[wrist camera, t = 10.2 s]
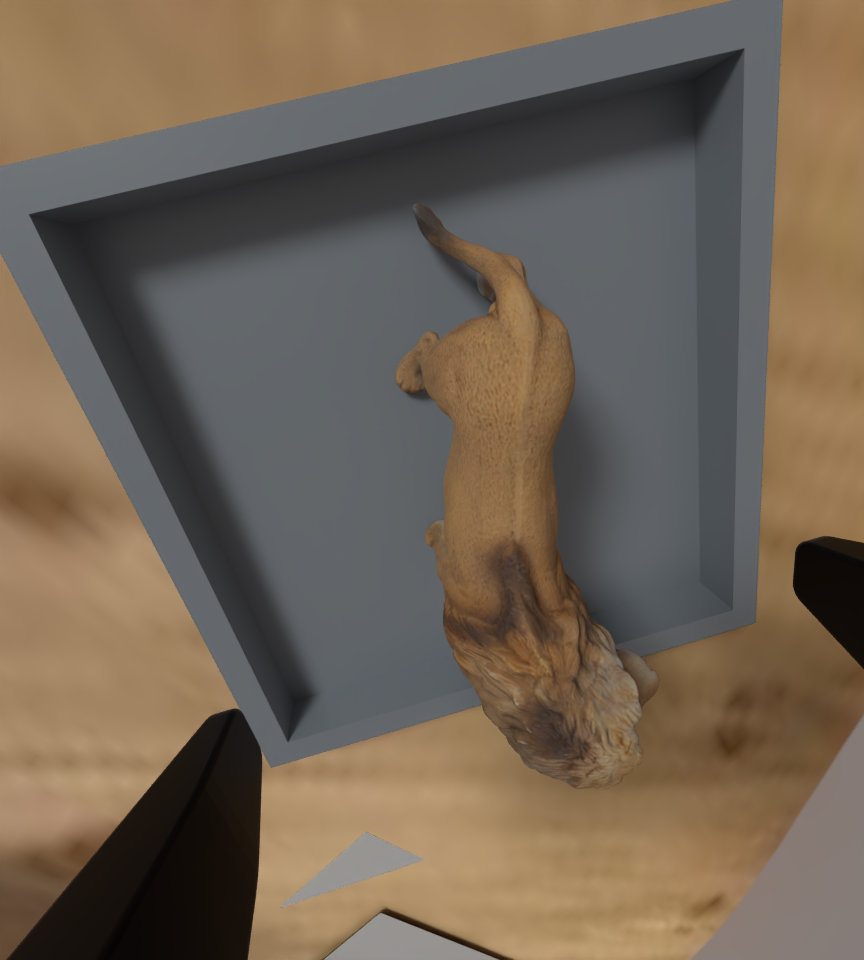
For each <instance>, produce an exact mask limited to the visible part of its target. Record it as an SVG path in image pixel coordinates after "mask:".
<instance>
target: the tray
mask: <svg viewBox="0 0 864 960" xmlns="http://www.w3.org/2000/svg"><path fill="white" fill-rule="evenodd" d="M782 11H783V0H733V1H729V2H724V3H720V4H715V5H711V6H707V7H702V8H698V9H693V10H689V11H684V12H680V13H676V14H671V15H667V16H662V17H658V18H654V19H649V20H645V21H640V22H636V23H631V24H627V25H623V26H618V27H614V28H609V29H605V30H600V31H596V32H592V33H587V34H583V35H578V36H574V37H570V38H565V39H561V40H556V41H552V42H547V43H543V44H539V45H534V46H530V47H525V48H521V49H516V50H512V51H508V52H503V53H499V54H494V55H490V56H486V57H481V58H477V59H472V60H468V61H463V62H459V63H455V64H450V65H446V66H441V67H437V68H433V69H428V70H424V71H419V72H415V73H410V74H406V75H402V76H397V77H393V78H388V79H384V80H379V81H375V82H371V83H366V84H362V85H357V86H353V87H349V88H344V89H340V90H335V91H331V92H326V93H322V94H318V95H313V96H309V97H304V98H300V99H295V100H291V101H287V102H282V103H278V104H273V105H269V106H265V107H260V108H256V109H251V110H247V111H242V112H238V113H234V114H229V115H225V116H220V117H216V118H211V119H207V120H203V121H198V122H194V123H189V124H185V125H181V126H176V127H172V128H167V129H163V130H158V131H154V132H150V133H145V134H141V135H136V136H132V137H127V138H123V139H119V140H114V141H110V142H105V143H101V144H97V145H92V146H88V147H83V148H79V149H74V150H70V151H66V152H61V153H57V154H52V155H48V156H43V157H39V158H35V159H30V160H26V161H21V162H17V163H13V164H8V165H4V166H0V253H1V255H2V257H3V259H4V261H5V262H6V264H7V266H8V268H9V270H10V272H11V274H12V276H13V278H14V280H15V282H16V283H17V285H18V287H19V289H20V291H21V293H22V295H23V297H24V299H25V301H26V302H27V304H28V306H29V308H30V310H31V312H32V314H33V316H34V318H35V320H36V321H37V323H38V325H39V327H40V329H41V331H42V333H43V335H44V337H45V339H46V341H47V342H48V344H49V346H50V348H51V350H52V352H53V354H54V356H55V358H56V360H57V361H58V363H59V365H60V367H61V369H62V371H63V373H64V375H65V377H66V379H67V381H68V382H69V384H70V386H71V388H72V390H73V392H74V394H75V396H76V398H77V400H78V401H79V403H80V405H81V407H82V409H83V411H84V413H85V415H86V417H87V419H88V420H89V422H90V424H91V426H92V428H93V430H94V432H95V434H96V436H97V438H98V440H99V441H100V443H101V445H102V447H103V449H104V451H105V453H106V455H107V457H108V459H109V460H110V462H111V464H112V466H113V468H114V470H115V472H116V474H117V476H118V478H119V480H120V481H121V483H122V485H123V487H124V489H125V491H126V493H127V495H128V497H129V499H130V500H131V502H132V504H133V506H134V508H135V510H136V512H137V514H138V516H139V518H140V520H141V521H142V523H143V525H144V527H145V529H146V531H147V533H148V535H149V537H150V539H151V540H152V542H153V544H154V546H155V548H156V550H157V552H158V554H159V556H160V558H161V559H162V561H163V563H164V565H165V567H166V569H167V571H168V573H169V575H170V577H171V579H172V580H173V582H174V584H175V586H176V588H177V590H178V592H179V594H180V596H181V598H182V599H183V601H184V603H185V605H186V607H187V609H188V611H189V613H190V615H191V617H192V619H193V620H194V622H195V624H196V626H197V628H198V630H199V632H200V634H201V636H202V638H203V639H204V641H205V643H206V645H207V647H208V649H209V651H210V653H211V655H212V657H213V658H214V660H215V662H216V664H217V666H218V668H219V670H220V672H221V674H222V676H223V678H224V679H225V681H226V683H227V685H228V687H229V689H230V691H231V693H232V695H233V697H234V698H235V700H236V702H237V704H238V706H239V708H240V710H241V711H242V713H243V714H244V716H245V718H246V720H247V722H248V724H249V726H250V728H251V729H252V731H253V733H254V735H255V737H256V739H257V741H258V743H259V745H260V748H261V750H262V752H263V754H264V756H265V757H266V759H267V761H268V763H269V765H270V767H271V768H272V767H276V766H279V765H282V764H286V763H289V762H292V761H296V760H299V759H302V758H306V757H309V756H313V755H316V754H319V753H323V752H326V751H329V750H333V749H336V748H339V747H343V746H346V745H349V744H353V743H356V742H359V741H363V740H366V739H369V738H373V737H376V736H379V735H383V734H386V733H389V732H393V731H396V730H399V729H403V728H406V727H409V726H413V725H416V724H419V723H423V722H426V721H429V720H433V719H436V718H439V717H443V716H446V715H449V714H453V713H456V712H459V711H463V710H466V709H469V708H473V707H476V706H479V705H482V702H481V701H480V699H479V696H478V695H477V693H476V691H475V689H474V687H473V686H472V684H471V683H470V681H469V680H468V679H467V678H466V677H465V675H464V674H463V673H462V671H461V670H460V668H459V666H458V664H457V662H456V660H455V659H454V656H453V649H452V648H451V647H450V645H449V643H448V641H447V638H446V635H445V631H444V627H443V609H444V602H445V594H444V589H443V583H442V582H441V580H440V578H439V576H438V574H437V568H436V563H437V562H436V556H435V549H433V548H432V547H431V546H429V545H427V543H426V541H425V534H426V531H427V529H428V528H429V527H430V526H431V525H432V524H433V523H434V522H436V521H438V520H444V512H445V509H444V496H443V480H444V473H445V469H446V464H447V460H448V456H449V452H450V448H451V444H452V439H453V430H454V426H453V422H452V420H451V419H450V418H449V416H447V415H446V414H445V413H444V412H442V411H441V410H440V409H439V407H438V405H437V403H436V402H435V401H434V400H433V399H432V398H431V397H430V396H429V394H428V392H427V390H426V391H424V392H419V393H414V394H412V393H406V392H403V391H402V390H401V389H400V387H399V386H398V385H397V384H396V381H395V374H396V369H397V367H398V365H399V363H400V361H401V360H402V358H403V357H404V356H405V355H406V354H407V353H408V352H409V351H411V350H412V349H413V348H414V347H415V346H416V344H417V343H418V342H419V340H420V339H421V337H422V336H423V335H424V334H425V333H426V332H428V331H434V332H436V333H437V334H438V336H439V338H440V339H441V338H443V337H444V336H445V335H446V334H447V333H448V332H450V331H451V330H452V329H454V328H455V327H456V326H458V325H459V324H461V323H463V322H465V321H468V320H470V319H473V318H477V317H481V316H487V315H488V312H489V309H490V306H491V305H492V304H493V303H494V302H495V301H491V300H490V299H488V298H486V297H484V296H482V295H481V293H480V292H479V290H478V285H477V272H476V271H475V270H473V269H472V268H470V267H469V266H468V265H466V264H465V263H463V262H461V261H459V260H458V259H456V258H454V257H452V256H450V255H448V254H445V253H443V252H442V251H441V250H440V249H439V248H437V247H435V246H434V245H432V244H431V243H430V242H428V241H427V240H426V238H425V237H424V236H423V234H422V233H421V231H420V229H419V227H418V224H417V220H416V218H415V216H414V213H413V210H412V208H413V206H414V205H415V204H418V203H423V204H425V205H427V206H428V207H429V208H430V209H431V210H432V211H433V213H434V214H435V216H436V217H437V218H438V219H439V220H441V222H442V225H443V227H444V228H445V229H446V230H447V231H448V232H450V233H452V234H454V235H455V236H457V237H459V238H461V239H462V240H464V241H467V242H469V243H472V244H476V245H480V246H483V247H486V248H487V249H489V250H491V251H493V252H501V253H506V254H508V255H512V256H515V257H517V258H519V259H520V260H521V261H522V263H523V265H524V267H525V269H526V277H527V283H528V287H529V288H530V290H531V291H532V293H533V294H534V296H535V297H536V299H537V300H538V301H539V302H540V303H541V304H542V305H543V307H545V308H546V309H548V310H550V311H552V312H553V313H554V314H556V315H557V316H558V317H559V318H560V319H561V320H562V322H563V324H564V325H565V327H566V328H567V331H568V334H569V337H570V341H571V348H572V354H573V360H574V366H575V388H574V393H573V396H572V399H571V402H570V405H569V407H568V410H567V413H566V416H565V418H564V421H563V423H562V425H561V428H560V430H559V432H558V435H557V438H556V441H555V444H554V448H553V455H552V465H553V472H554V479H555V485H556V492H557V503H558V535H557V549H558V550H559V552H560V555H561V557H562V561H563V566H564V571H565V573H566V574H567V575H568V576H569V577H570V578H571V579H572V580H573V581H574V583H575V584H576V586H577V587H578V589H579V590H580V593H581V595H582V596H583V598H584V599H585V601H586V603H587V605H588V608H589V613H590V615H591V618H592V619H593V620H594V621H595V622H597V623H599V624H600V625H602V626H603V627H605V628H606V629H607V630H608V631H609V632H610V634H611V637H612V639H613V641H614V644H615V648H616V649H617V650H622V649H625V650H629V651H631V652H634V653H636V654H637V655H639V656H640V657H643V656H646V655H650V654H653V653H656V652H660V651H663V650H666V649H670V648H673V647H677V646H680V645H683V644H687V643H690V642H693V641H697V640H700V639H703V638H707V637H710V636H713V635H717V634H720V633H723V632H727V631H730V630H733V629H737V628H740V627H743V626H747V625H750V624H753V623H756V601H757V578H758V556H759V533H760V510H761V488H762V465H763V442H764V420H765V397H766V374H767V351H768V329H769V306H770V283H771V261H772V238H773V215H774V193H775V170H776V147H777V125H778V102H779V79H780V56H781V34H782Z"/></svg>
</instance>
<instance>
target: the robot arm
mask: <svg viewBox="0 0 864 960" xmlns="http://www.w3.org/2000/svg"><path fill="white" fill-rule="evenodd" d="M793 588H794V591H795V594H796V596H797V597H798V599H799V600H800V601H801V602H802V603H803V605H804V606H805V607H806V608H807V609H808V610H809V611H810V612H811V613H812V614H813V615H814V616H815V617H816V618H817V620H818V621H819V622H820V623H821V624H822V625H823V626H824V627H825V628H826V629H827V630H828V631H829V632H830V633H831V635H832V636H833V637H834V638H835V639H836V640H837V641H838V642H839V643H840V644H841V645H842V646H843V647H844V648H845V650H846V651H847V652H848V653H849V654H850V655H851V656H852V657H853V658H854V659H855V660H856V661H857V662H858V664H859V665H860V666H861V667H862V668H863V669H864V543H861V542H856V541H851V540H846V539H841V538H835V537H830V536H822V537H818V538H815V539H811V540H808V541H804V542H802V543H800V544H799V545H798V547H797V548H796V552H795V563H794V575H793ZM261 785H262V753H261V749H260V745H259V743H258V741H257V739H256V737H255V735H254V733H253V731H252V729H251V728H250V726H249V724H248V722H247V720H246V718H245V716H244V714H243V713H242V711H240V710H239V709H230V710H227V711H224V712H220V713H217V714H214V715H212V716H210V717H209V718H208V719H207V720H206V721H205V722H204V723H203V724H202V725H201V727H200V728H199V729H198V730H197V731H196V733H195V734H194V735H193V736H192V737H191V739H190V740H189V741H188V742H187V743H186V745H185V746H184V747H183V748H182V749H181V751H180V752H179V753H178V754H177V755H176V757H175V758H174V759H173V760H172V761H171V763H170V764H169V765H168V766H167V767H166V769H165V770H164V771H163V772H162V773H161V775H160V776H159V777H158V778H157V779H156V781H155V782H154V783H153V784H152V785H151V787H150V788H149V789H148V790H147V792H146V793H145V794H144V795H143V796H142V798H141V799H140V800H139V801H138V802H137V804H136V805H135V806H134V807H133V808H132V810H131V811H130V812H129V813H128V814H127V816H126V817H125V818H124V819H123V820H122V822H121V823H120V824H119V825H118V826H117V828H116V829H115V830H114V831H113V832H112V834H111V835H110V836H109V837H108V838H107V840H106V841H105V842H104V843H103V844H102V846H101V847H100V848H99V849H98V850H97V852H96V853H95V854H94V855H93V856H92V858H91V859H90V860H89V861H88V862H87V864H86V865H85V866H84V867H83V868H82V870H81V871H80V872H79V873H78V874H77V876H76V877H75V878H74V879H73V880H72V882H71V883H70V884H69V885H68V886H67V888H66V889H65V890H64V891H63V892H62V894H61V895H60V896H59V897H58V898H57V900H56V901H55V902H54V903H53V904H52V906H51V907H50V908H49V909H48V910H47V912H46V913H45V914H44V915H43V916H42V918H41V919H40V920H39V921H38V922H37V924H36V925H35V926H34V927H33V929H32V930H31V931H30V932H29V933H28V935H27V936H26V937H25V938H24V939H23V941H22V942H21V943H20V944H19V945H18V947H17V948H16V949H15V950H14V951H13V953H12V954H11V955H10V956H9V957H8V959H7V960H248V953H249V945H250V937H251V930H252V922H253V914H254V907H255V899H256V890H257V881H258V869H259V848H260V817H261Z"/></svg>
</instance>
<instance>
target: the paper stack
mask: <svg viewBox="0 0 864 960" xmlns="http://www.w3.org/2000/svg"><path fill="white" fill-rule="evenodd" d="M423 860H424V859H422V858H420V857H418V856H416V855H414V854H412V853H409V852H407V851H405V850H403V849H401V848H399V847H397V846H395V845H393V844H390V843H388V842H386V841H384V840H382V839H380V838H378V837H376V836H374V835H371V834H369V833H367V832H365V833H364V834H363V835H362V836H361V837H359V838H358V839H357V840H356V841H355V842H354V843H353V844H351V845H350V846H349V847H348V848H347V849H346V850H345V851H343V852H342V853H341V854H340V855H339V856H338V857H337V858H335V859H334V860H333V861H332V862H331V863H330V864H329V865H328V866H326V867H325V868H324V869H323V870H322V871H321V872H320V873H318V874H317V875H316V876H315V877H314V878H313V879H312V880H310V881H309V882H308V883H307V884H306V885H305V886H304V887H302V888H301V889H300V890H299V891H298V892H297V893H296V894H294V895H293V896H292V897H291V898H290V899H289V900H288V901H286V902H285V903H284V904H283V905H282V906H281V907H284V906H287V905H290V904H293V903H296V902H299V901H302V900H305V899H308V898H311V897H314V896H317V895H320V894H323V893H326V892H329V891H332V890H335V889H338V888H341V887H344V886H347V885H350V884H354V883H356V882H359V881H363V880H366V879H368V878H372V877H375V876H378V875H380V874H384V873H387V872H390V871H393V870H396V869H399V868H402V867H405V866H408V865H411V864H414V863H417V862H420V861H423ZM281 907H280V908H281ZM324 960H499V959H496V958H494V957H491V956H489V955H486V954H484V953H481V952H479V951H476V950H474V949H471V948H469V947H466V946H464V945H461V944H459V943H456V942H454V941H451V940H448V939H446V938H443V937H441V936H438V935H436V934H433V933H431V932H428V931H426V930H423V929H421V928H418V927H416V926H413V925H411V924H408V923H406V922H403V921H400V920H398V919H395V918H393V917H390V916H388V915H385V914H383V913H380V914H378V915H377V916H376V917H375V918H373V919H372V920H371V921H370V922H369V923H367V924H366V925H365V926H364V927H363V928H361V929H360V930H359V931H358V932H357V933H355V934H354V935H353V936H352V937H350V938H349V939H348V940H347V941H346V942H344V943H343V944H342V945H341V946H340V947H338V948H337V949H336V950H335V951H334V952H332V953H331V954H330V955H329V956H327V957H326V958H325V959H324Z"/></svg>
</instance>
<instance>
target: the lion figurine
mask: <svg viewBox="0 0 864 960" xmlns="http://www.w3.org/2000/svg"><path fill="white" fill-rule="evenodd" d="M412 210H413V213H414V216H415V218H416V220H417V224H418V227H419V229H420V231H421V233H422V234H423V236H424V237H425V238H426V240H427V241H428V242H430V243H431V244H432V245H434V246H435V247H437V248H439V249H440V250H441V251H442V252H443V253H445V254H448V255H450V256H452V257H454V258H456V259H458V260H459V261H461V262H463V263H465V264H466V265H468V266H469V267H470V268H472V269H473V270H475V271H476V272H477V285H478V290H479V292H480V293H481V295H482V296H484V297H486V298H488V299H490V300H491V301H495V302H494V303H493V304H492V305H491V306H490V309H489V312H488V315H487V316H481V317H477V318H473V319H470V320H468V321H465V322H463V323H461V324H459V325H458V326H456V327H455V328H454V329H452V330H451V331H450V332H448V333H447V334H446V335H445V336H444V337H443V338H441V339H440V338H439V336H438V334H437V333H436V332H434V331H428V332H426V333H425V334H424V335H423V336H422V337H421V339H420V340H419V342H418V343H417V344H416V346H415V347H414V348H413V349H412V350H411V351H409V352H408V353H407V354H406V355H405V356H404V357H403V358H402V360H401V361H400V363H399V365H398V367H397V369H396V374H395V381H396V384H397V385H398V386H399V387H400V389H401V390H402V391H403V392H406V393H412V394H414V393H419V392H424V391H426V390H427V392H428V394H429V396H430V397H431V398H432V399H433V400H434V401H435V402H436V403H437V405H438V407H439V409H440V410H441V411H442V412H444V413H445V414H446V415H447V416H449V418H450V419H451V420H452V422H453V426H454V430H453V439H452V444H451V448H450V452H449V456H448V460H447V464H446V469H445V473H444V480H443V496H444V509H445V512H444V520H438V521H436V522H434V523H433V524H432V525H431V526H430V527H429V528H428V529H427V531H426V534H425V541H426V543H427V545H429V546H431V547H432V548H433V549H435V556H436V562H437V563H436V568H437V574H438V576H439V578H440V580H441V582H442V583H443V589H444V594H445V602H444V609H443V627H444V631H445V635H446V638H447V641H448V643H449V645H450V647H451V648H452V649H453V656H454V659H455V660H456V662H457V664H458V666H459V668H460V670H461V671H462V673H463V674H464V675H465V677H466V678H467V679H468V680H469V681H470V683H471V684H472V686H473V687H474V689H475V691H476V693H477V695H478V696H479V699H480V701H481V702H482V707H483V711H484V713H485V715H486V716H487V717H488V718H489V719H490V720H491V721H492V722H493V723H494V724H495V725H496V726H498V728H499V730H500V731H501V732H502V733H503V734H504V735H505V736H506V738H507V740H508V742H509V744H510V745H511V747H512V748H513V749H514V750H515V751H516V752H517V753H519V754H520V756H521V759H522V761H523V762H524V764H526V765H527V766H528V767H529V768H532V769H536V770H537V771H538V772H540V773H541V774H544V775H547V776H549V777H552V778H555V779H560V780H563V781H565V782H567V783H568V784H569V785H570V786H572V787H574V788H576V789H582V788H596V789H600V788H601V789H608V788H609V787H610V786H613V785H616V784H619V783H620V782H621V781H622V778H623V776H624V775H626V774H628V773H630V772H631V771H632V770H633V769H634V767H635V766H637V765H638V764H640V763H641V761H642V756H643V751H642V748H641V746H640V744H639V743H638V741H639V736H638V734H637V732H636V730H635V728H634V727H635V725H636V724H637V723H638V721H639V720H640V719H641V713H642V710H641V708H642V706H643V705H644V704H645V703H646V702H647V701H648V700H649V699H650V698H651V697H652V696H653V695H654V694H655V692H656V690H657V688H658V685H659V678H658V675H657V674H656V672H655V671H653V670H651V669H650V668H649V667H648V665H647V664H646V662H645V661H644V660H643V659H642V658H641V657H640V656H639V655H637V654H636V653H634V652H631V651H629V650H625V649H622V650H617V649H616V648H615V644H614V641H613V639H612V637H611V634H610V632H609V631H608V630H607V629H606V628H605V627H603V626H602V625H600V624H599V623H597V622H595V621H594V620H593V619H592V618H591V615H590V613H589V608H588V605H587V603H586V601H585V599H584V598H583V596H582V595H581V593H580V590H579V589H578V587H577V586H576V584H575V583H574V581H573V580H572V579H571V578H570V577H569V576H568V575H567V574H566V573H565V571H564V566H563V561H562V557H561V555H560V552H559V550H558V549H557V535H558V503H557V492H556V485H555V479H554V472H553V465H552V455H553V448H554V444H555V441H556V438H557V435H558V432H559V430H560V428H561V425H562V423H563V421H564V418H565V416H566V413H567V410H568V407H569V405H570V402H571V399H572V396H573V393H574V388H575V366H574V360H573V354H572V348H571V341H570V337H569V334H568V331H567V328H566V327H565V325H564V324H563V322H562V320H561V319H560V318H559V317H558V316H557V315H556V314H554V313H553V312H552V311H550V310H548V309H546V308H545V307H543V305H542V304H541V303H540V302H539V301H538V300H537V299H536V297H535V296H534V294H533V293H532V291H531V290H530V288H529V287H528V283H527V277H526V269H525V267H524V265H523V263H522V261H521V260H520V259H519V258H517V257H515V256H512V255H508V254H506V253H501V252H493V251H491V250H489V249H487V248H486V247H483V246H480V245H476V244H472V243H469V242H467V241H464V240H462V239H461V238H459V237H457V236H455V235H454V234H452V233H450V232H448V231H447V230H446V229H445V228H444V227H443V225H442V222H441V220H439V219H438V218H437V217H436V216H435V214H434V213H433V211H432V210H431V209H430V208H429V207H428V206H427V205H425V204H423V203H418V204H415V205H414V206H413V208H412Z"/></svg>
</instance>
